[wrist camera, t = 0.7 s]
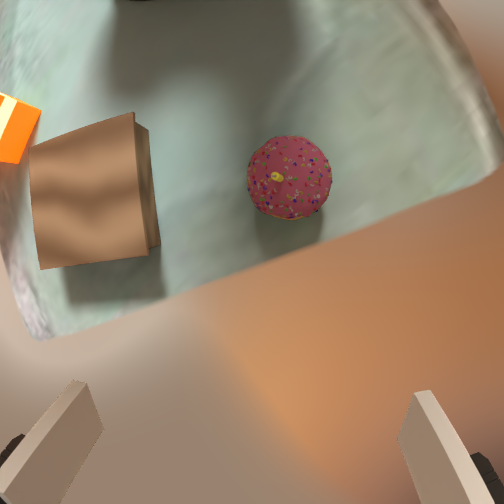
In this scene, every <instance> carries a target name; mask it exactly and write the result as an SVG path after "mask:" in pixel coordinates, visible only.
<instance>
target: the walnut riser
mask: <svg viewBox="0 0 504 504" xmlns="http://www.w3.org/2000/svg"><path fill="white" fill-rule="evenodd" d="M29 177H30V194H31V206H32V216H33V225H34V233H35V240H36V247H37V253H38V259H39V264H40V270H44V269H51V268H58V267H65V266H72V265H79V264H87V263H94V262H101V261H109V260H116V259H123V258H131V257H138V256H146V255H150V252H149V248H152V247H155V246H157V245H160V244H161V241H160V234H159V227H158V220H157V212H156V204H155V196H154V188H153V178H152V169H151V158H150V147H149V135H148V130H147V129H146V128H144V127H143V126H141V125H140V124H138V123H137V122H135V113H134V112H131V113H127V114H124V115H120V116H117V117H113V118H110V119H107V120H104V121H101V122H97V123H94V124H91V125H88V126H85V127H82V128H80V129H77V130H74V131H71V132H68V133H66V134H63V135H60V136H58V137H55V138H53V139H50V140H48V141H45V142H43V143H40V144H38V145H35V146H33V147H31V148H29Z"/></svg>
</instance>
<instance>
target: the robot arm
mask: <svg viewBox="0 0 504 504" xmlns="http://www.w3.org/2000/svg"><path fill="white" fill-rule="evenodd" d="M132 1H145V0H132ZM103 430H104V427H103V424H102V422H101V420H100V417H99V415H98V412H97V410H96V407H95V405H94V402H93V399H92V397H91V394H90V391H89V388H88V386H87V383H83V382H79V381H75V380H73V381H72V382H71V383H70V384H69V385H68V386H67V387H66V389H65V390H64V391H63V392H62V393H61V394H60V396H59V397H58V398H57V399H56V400H55V401H54V403H53V404H52V405H51V406H50V407H49V408H48V410H47V411H46V412H45V413H44V414H43V416H42V417H41V418H40V419H39V420H38V422H37V423H36V424H35V425H34V426H33V428H32V429H31V430H30V431H29V433H28V434H27V435H26V436H25V435H23V434H21V435H19V436H17V437H16V438H14V439H12V441H11V442H10V443H9V444H8V445H7V447H6V449H5V450H3V452H2V453H1V455H0V504H60V503H61V501H62V499H63V497H64V496H65V494H66V492H67V490H68V488H69V487H70V485H71V483H72V482H73V480H74V478H75V476H76V475H77V473H78V471H79V470H80V468H81V466H82V465H83V463H84V461H85V459H86V458H87V456H88V454H89V453H90V451H91V449H92V447H93V446H94V444H95V443H96V441H97V439H98V438H99V436H100V434H101V433H102V431H103ZM397 440H398V443H399V445H400V448H401V450H402V453H403V455H404V458H405V461H406V463H407V466H408V469H409V471H410V474H411V477H412V479H413V482H414V484H415V487H416V490H417V493H418V496H419V498H420V501H421V504H504V486H503V484H502V483H501V481H500V479H498V475H497V474H496V472H494V469H493V467H492V465H491V463H490V462H489V460H488V459H487V458H486V457H484V456H483V455H482V454H481V453H479V452H478V453H475V454H472V455H470V456H469V454H468V452H467V450H466V448H465V447H464V445H463V443H462V442H461V440H460V438H459V437H458V435H457V433H456V431H455V430H454V428H453V426H452V425H451V423H450V421H449V420H448V418H447V416H446V415H445V413H444V411H443V410H442V408H441V407H440V405H439V403H438V402H437V400H436V399H435V397H434V395H433V394H432V392H431V391H430V390H427V391H421V392H415V393H414V394H413V397H412V400H411V403H410V406H409V408H408V411H407V414H406V417H405V419H404V422H403V425H402V427H401V430H400V432H399V435H398V437H397Z"/></svg>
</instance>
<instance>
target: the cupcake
mask: <svg viewBox="0 0 504 504" xmlns="http://www.w3.org/2000/svg"><path fill="white" fill-rule="evenodd" d="M331 183H332V173H331V168H330V165H329V162H328V160H327V159H326V157H325V156H324V154H323V153H322V151H321V150H320V149H319V148H318V147H317V146H315V145H314V144H313V143H312V142H310V141H309V140H308V139H306V138H303V137H299V136H290V135H287V136H282V137H275V138H272V139H270V140H269V141H268V142H267V143H266V144H265V145H263V146H262V147H261V148H260V149H258V150H257V151H256V152H254V154H253V156H252V158H251V160H250V163H249V166H248V170H247V186H248V191H249V193H250V196H251V198H252V201H253V203H254V205H255V206H256V207H257V208H258V209H259V210H260V211H262V212H263V213H265V214H270V215H272V216H274V217H277V218H281V219H285V220H297V219H300V218H303V217H308V216H310V215H312V214H313V213H314V212H317V211H318V209H319V208H320V207H321V206H322V205H323V204H324V202H325V201H326V199H327V197H328V196H329V191H330V187H331Z"/></svg>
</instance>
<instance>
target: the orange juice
mask: <svg viewBox="0 0 504 504" xmlns="http://www.w3.org/2000/svg"><path fill="white" fill-rule="evenodd" d="M40 113H41V110H39V109H37V108H35V107H33V106H31V105H29V104H27V103H25V102H23V101H21V100H19V99H16V98H14V97H11V96H8V95H6V94H3V93H0V161H1V162H9V163H16V164H18V163H19V160H20V158H21V155H22V153H23V150H24V148H25V146H26V143H27V141H28V139H29V136H30V134H31V132H32V130H33V128H34V125H35V123H36V121H37V119H38V117H39V115H40Z"/></svg>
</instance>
